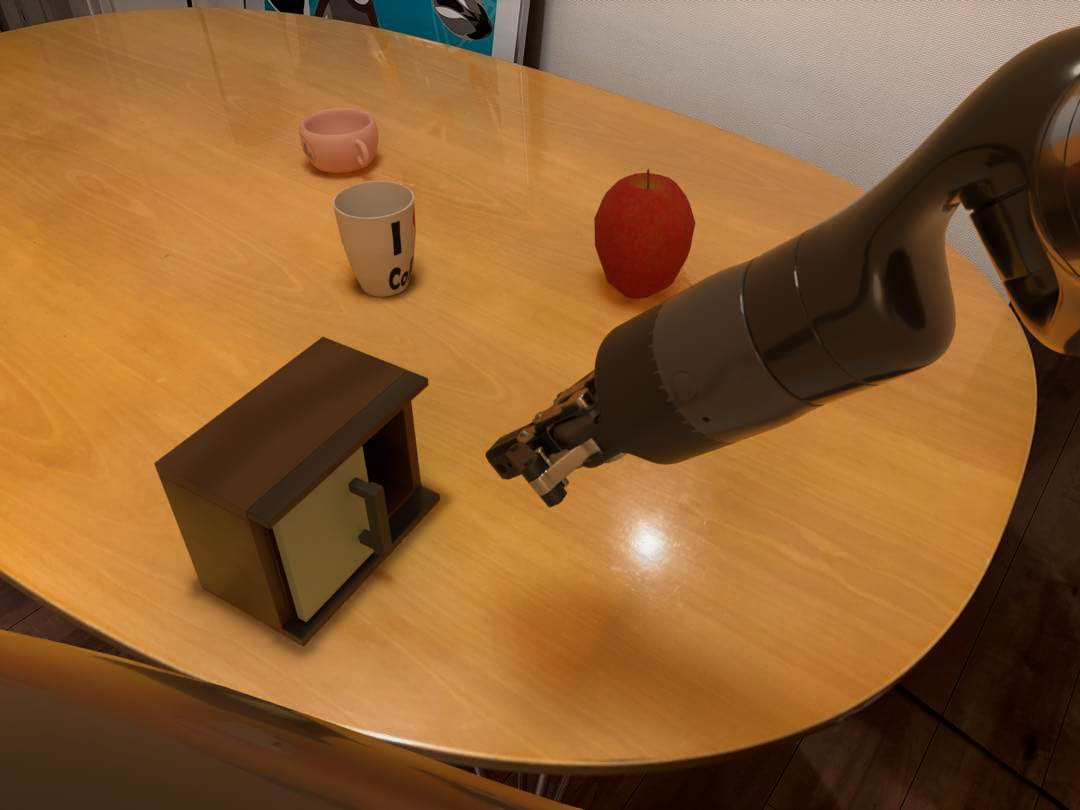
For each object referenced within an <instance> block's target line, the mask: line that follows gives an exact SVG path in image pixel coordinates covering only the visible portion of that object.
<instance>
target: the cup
mask: <svg viewBox="0 0 1080 810" xmlns="http://www.w3.org/2000/svg"><path fill="white" fill-rule="evenodd" d="M415 205H416V204H415V193H414V192H413V190H412V189H411V188H410V187H408V186H407V185H405V184H402V183H399V182H395V181H388V180H369V181H364V182H358V183H354V184H351V185H349V186H347V187H345V188H342V189H341V190H339V191H338V192H337V193H336V194H335V195H334V197H333V199H332V206H333V210H334V211H333V212H334V215H335V219H336V224H337V228H338V232H339V237H340V240H341V243H342V247H343V249H344V252H345V254H346V258H347V261H348V263H349V266H350V268H351V271H352V273H353V275H354V277H355V278H356V280H357V283H358V284H359V286H360V288H361V289H362V291H363V292H365V293H366V294H367V295H370V296H374V297H379V298H380V297H384V298H385V297H391V296H396V295H398V294H400V293H402V292H403V291H405V290H406V289H407V288H408V286H409V283H410V279H411V274H412V271H413V267H414V262H415V261H414V259H415V246H416V236H417V234H416V233H417V232H416V206H415Z"/></svg>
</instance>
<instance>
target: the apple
mask: <svg viewBox="0 0 1080 810" xmlns="http://www.w3.org/2000/svg"><path fill="white" fill-rule="evenodd" d="M593 223H594V225H593V226H594V247H595V250H596V254H597V257H598V259H599V263H600V265H601V268H602V272H603V274H604V277H605V280H606V283H608V285H610V286H611V287H613V288H614V289H615V290H616V291H617V292H619V293H620V295H623V296H624V297H625V298H629V299H631V300H632V299H635V300H640V299H646V298H649V297H652V296H654V295H656V294H658V293H660V292H662V291H665V290H666V289H668V288H670V286H672V285H673V284H674V283H675V281H676V279H677V277H678V275H679V274H680V272H681V270H682V269H683V267H684V265H685V263H686V261H687V260H688V257H689V254H690V253H691V248H692V243H693V237H694V233H695V227H696V219H695V216H694V212H693V210H692V206H691V202H690V201H689V198H688V197H687V195H686V193H685V192H684V191H683V189H682V188H681V187H680V186H679V184H678V183H677V182H676V181H675V180H673V179H672V178H671V177H669V176H665V175H662V174H658V173H652V172H650V168H648V169H646V172H637V173H632V174H630V175H627V176H625V177H623V178H620V179H618V180H617V181H616V182H615V183H614V184H613V185H612V186H611V187H610V188H609V189H608V190H607V191H606V192H605V194H604V196H603V197H602V198H601V201H600V204H599V206H598V208H597V211H596V213H595V216H594V220H593Z"/></svg>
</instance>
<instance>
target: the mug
mask: <svg viewBox="0 0 1080 810" xmlns="http://www.w3.org/2000/svg"><path fill="white" fill-rule="evenodd" d="M298 128H299V130H298V131H299V132H298V133H299V141H300V144H301V148H302V151H303V153H304V154H305V156H306V157H307V159H308V160H309V162H310V164H311V165H313V166H314V167H315V168H316V169H317V170H320V171H322V172H326V173H331V174H332V173H333V174H345V173H352V172H353V173H354V172H356V171H360V170H362V169H364V168H367V167H368V166H369V165H370V164H371V163H372V161H373V160H374V158H375V156H376V153H377V149H378V146H379V131H378V126H377V123H376V120H375V118H374V117H373V116H372V115H371V114H370V113H369V112H367V111H366V110H362V109H359V108H354V107H331V108H326V109H325V108H324V109H320V110H318V111H315V112H312V113H310V114H308V115H307V116H305V117H304V118H303V119H302V121H301V122H300V124H299V127H298Z"/></svg>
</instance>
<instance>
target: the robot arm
mask: <svg viewBox="0 0 1080 810" xmlns="http://www.w3.org/2000/svg"><path fill="white" fill-rule="evenodd" d="M960 205H962V206H963V208H964V210H965V211H968V212H970V213H969V214H968V217H969V219H970V222H971V224H972V226H973V228H974V229H975V232H976V234H977V235H978V238H979V239H980V241H981V243H982V246H983V248H984V250H985V252H986V254H987V255H988V258H989V260H990V262H991V263H992V266H993V268H994V270H995V272H996V274H997V276H998V278H999V280H1000V281H1001V285H1002V287H1003V289H1004V291H1005V292H1006V295H1007V296H1008V298H1009V300H1010V302H1011V304H1012V306H1013V308H1014V310H1015V312H1016V314H1017V315H1018V317H1019V319H1020V320H1021V322H1022V323H1023V325H1024V326H1025V327H1026V329H1027V330H1028V331H1029V332H1030V334H1031V335H1032V336H1034V337H1035V338H1036V339H1037V340H1038V341H1039V342H1040V343H1041V344H1042V345H1044V346H1045V347H1046V348H1048V349H1050V350H1052V351H1054V352H1057V353H1059V354H1062V355H1065V356H1071V357H1078V358H1080V25H1075V26H1073V27H1070V28H1066V29H1063V30H1059V31H1057V32H1055V33H1053V34H1049V35H1048V36H1046V37H1044V38H1042V39H1040V40H1038V41H1036V42H1035V43H1032V44H1031V45H1029V46H1028V47H1026V48H1024V49H1023V50H1021V51H1019V52H1018V53H1017V54H1015V55H1013V57H1011V58H1010V59H1009V60H1007V61H1006V62H1004V63H1003V64H1002V65H1001V66H1000V67H998V68H997V69H996V70H995V71H994V72H993V73H992V74H990V76H988V77H987V78H986V79H984V81H982V82H981V84H979V85H978V86H977V87H976V88H975V89H973V90H972V91H971V93H969V94H968V95H967V96H966V97H965V98H964V100H962V102H960V103H959V104H958V105H957V106H956V107H955V108H954V109H953V110H952V111H951V112H950V113H949V115H947V116H946V117H945V119H944V120H942V121H941V122H940V124H939V125H937V127H935V129H934V130H932V132H931V133H930V134H929V135H928V136H927V137H925V139H923V141H922V142H920V144H919V145H918V146H917V147H916V148H914V150H912V151H911V152H910V153H909V154H908V155H907V156H906V157H905V158H904V159H902V161H901V162H899V164H897V165H896V167H894V168H892V170H890V172H888V173H887V174H886V175H885V176H884V177H883V178H881V179H880V180H879V181H878V182H877V183H876V184H874V185H873V186H872V187H870V188H869V189H868V190H866V191H865V192H864V193H863V194H861V195H860V196H859V197H857V198H856V199H855V200H853V201H851V203H849V204H848V205H846V206H845V207H843V208H842V209H840V210H839V211H837V212H836V213H834V214H832V215H831V216H829V217H827V218H826V219H824V220H822V221H820V222H818V223H816V224H815V225H812V227H809V228H808V229H806V230H804V231H802V232H801V233H799V234H796V235H794V236H792V237H790V238H789V239H787V240H785V241H784V242H782V243H779V244H778V245H775V246H774V247H772V248H771V249H769V250H767V251H765V252H763V253H761V254H760V255H758V256H755V257H753V258H752V259H749V260H746V261H744V262H742V263H739V264H735V265H732V266H729V267H727V268H724V269H722V270H720V271H717V272H715V273H713V274H711V275H709V276H707V277H705V278H703V279H701V280H699V281H698V282H696V283H694V284H693V285H690V286H689V287H686V288H684V289H683V290H681V291H679V292H678V293H676V294H674V295H671V296H670V297H668V298H667V299H664V300H663V301H661V302H659V303H658V304H655V305H654V306H652V307H650V308H648V309H646V310H644V311H643V312H641V313H639V314H637V315H636V316H634V317H632V318H630V319H628V320H626V321H624V322H623V323H620V324H619V325H617V326H616V327H614V328H613V329H611V330H610V331H609V332H608V333H607V334H606V336H605V337H604V338H603V339H602V342H601V343H600V345H599V347H598V350H597V353H596V356H595V360H594V368H593V370H591V371H590V372H589V373H587V374H586V375H584V376H583V377H582V378H580V379H579V380H578V381H577V382H575V383H573V384H572V385H571V386H570V387H568V388H566V389H564V390H562V391H561V392H559V393H558V394H557V395H556V397H555V398H554V400H553V401H552V402H553V403H552V405H551V406H550V407H548V408H546V409H544V410H543V411H542V410H540V411H539V412H538V413H536V414H535V415H534V418H533V419H532V420H531V422H530V423H528V424H526V425H524V426H521V427H519V428H517V429H515V430H513V431H511V432H508V433H506V434H504V435H503V436H500V437H499V438H498V439H497V440H496V441H495V442H494V443H493V444H492V445H491V447H490V448H489V449H488V450H487V451H485V458H486V460H487V462H488V464H489V465H490V466H491V467H492V468H493V470H494V471H495V472H496V473H497V474H498V476H499V477H500V478H501V479H502V480H507V481H509V480H512V479H514V478H516V477H519V476H522V477H523V479H524V480H525V481H526V482H527V483H528V484H529V486H531V488H532V489H533V491H534V492H535V494H536V495H538V496H539V498H540V499H541V500H542V501H543V503H544V504H545V505H546V506H547V507H548V508H554V507H555V506H557V505H559V504H561V503H562V502H564V499H565V498H566V497H567V494H568V491H567V490H566V488H567V487H568V486H569V485H570V480H569V479H568V478H567V477H568V476H569V475H571V474H572V473H573V472H574V471H576V470H578V469H581V468H586V469H595V468H598V467H601V466H603V465H604V464H611V463H612V462H616V461H619V460H620V459H622V458H623V457H625V456H626V455H628V454H629V455H631V456H634V457H637V458H639V459H641V460H645V461H646V462H647V461H648V462H649V463H653V464H656V465H663V466H668V465H675V464H680V463H682V462H685V461H688V460H691V459H694V458H697V457H700V456H703V455H705V454H708V453H711V452H714V451H716V450H719V449H723V448H725V447H727V446H730V445H733V444H736V443H740V442H742V441H744V440H747V439H750V438H753V437H755V436H758V435H761V434H765V433H768V432H770V431H773V430H775V429H778V428H781V427H783V426H786V425H788V424H790V423H792V422H795V421H797V420H798V419H800V418H802V417H804V416H806V415H807V414H809V413H810V412H813V411H814V410H817V409H819V408H822V407H823V406H826V405H828V404H831V403H835V402H836V401H839V400H842V399H845V398H847V397H850V396H853V395H857V394H859V393H862V392H864V391H867V390H869V389H873V388H876V387H878V386H881V385H885V384H888V383H890V382H893V381H895V380H898V379H902V378H903V377H906V376H909V375H912V374H914V373H916V372H920V371H921V370H923V369H925V368H927V367H928V366H931V365H932V364H934V363H936V362H937V361H938V360H939V359H940V358H942V357H943V356H944V355H945V354H946V352H947V351H948V349H949V348H950V346H952V342H953V339H954V337H955V333H956V331H955V330H956V326H957V325H956V322H957V321H956V318H957V317H956V304H955V297H954V292H953V286H952V282H951V276H950V272H949V266H948V261H947V253H946V233H947V228H948V226H949V224H950V221H951V219H952V217H953V216H954V214H955V213H956V210H957V209H958V208H959V206H960ZM0 810H584V809H582V808H579V807H575V806H572V805H569V804H564V803H562V802H558V801H556V800H552V799H549V798H547V797H543V796H540V795H537V794H535V793H531V792H528V791H525V790H522V789H519V788H516V787H513V786H510V785H507V784H505V783H501V782H499V781H496V780H492V779H489V778H486V777H484V776H481V775H479V774H476V773H472V772H469V771H466V770H464V769H461V768H458V767H455V766H453V765H451V764H447V763H445V762H442V761H439V760H437V759H433V758H431V757H428V756H425V755H422V754H419V753H418V752H413V751H411V750H409V749H405V748H403V747H400V746H397V745H396V744H395V745H394V744H392V743H390V742H386V741H383V740H381V739H378V738H375V737H372V736H370V735H367V734H364V733H361V732H359V731H356V730H353V729H351V728H347V727H345V726H342V725H339V724H336V723H333V722H331V721H328V720H325V719H322V718H320V717H316V716H313V715H310V714H307V713H305V712H302V711H299V710H295V709H293V708H289V707H286V706H284V705H281V704H278V703H274V702H272V701H269V700H266V699H263V698H260V697H257V696H255V695H251V694H249V693H246V692H242V691H239V690H236V689H233V688H230V687H228V686H225V685H220V684H218V683H213V682H211V681H207V680H202V679H199V678H196V677H193V676H189V675H186V674H182V673H178V672H174V671H171V670H169V669H165V668H161V667H156V666H153V665H149V664H146V663H143V662H139V661H135V660H132V659H128V658H125V657H121V656H117V655H112V654H109V653H104V652H100V651H95V650H92V649H89V648H88V649H87V648H84V647H79V646H76V645H75V646H74V645H72V644H71V645H70V644H66V643H62V642H58V641H53V640H49V639H45V638H41V637H37V636H34V635H33V636H32V635H27V634H23V633H18V632H15V631H9V630H5V629H0Z"/></svg>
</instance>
